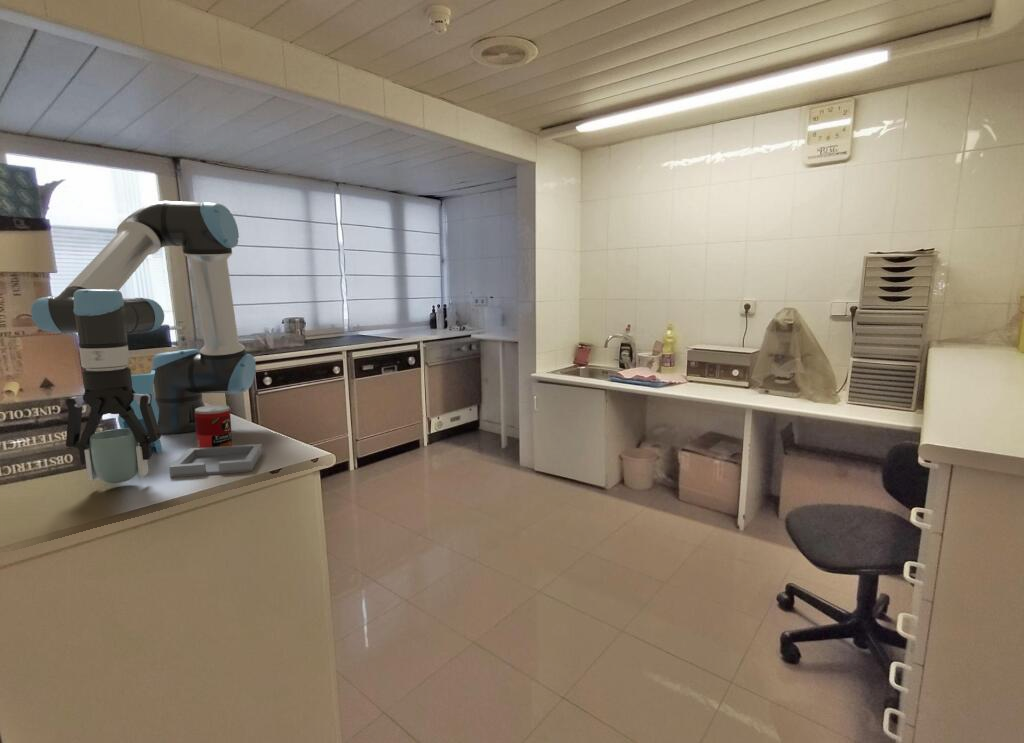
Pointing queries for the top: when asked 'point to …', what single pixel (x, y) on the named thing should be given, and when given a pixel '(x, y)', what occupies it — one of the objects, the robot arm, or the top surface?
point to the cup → (114, 455)
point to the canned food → (213, 426)
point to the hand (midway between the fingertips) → (119, 476)
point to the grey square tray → (216, 460)
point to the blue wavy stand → (140, 386)
